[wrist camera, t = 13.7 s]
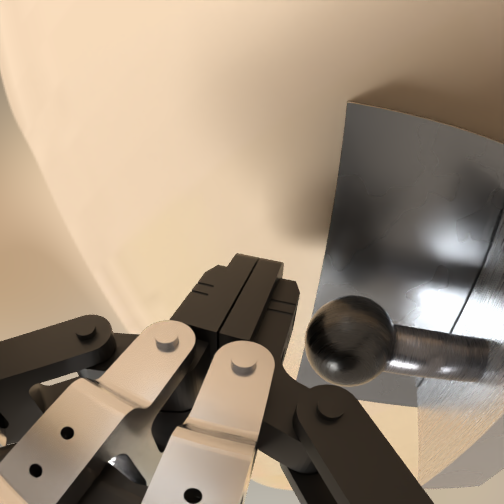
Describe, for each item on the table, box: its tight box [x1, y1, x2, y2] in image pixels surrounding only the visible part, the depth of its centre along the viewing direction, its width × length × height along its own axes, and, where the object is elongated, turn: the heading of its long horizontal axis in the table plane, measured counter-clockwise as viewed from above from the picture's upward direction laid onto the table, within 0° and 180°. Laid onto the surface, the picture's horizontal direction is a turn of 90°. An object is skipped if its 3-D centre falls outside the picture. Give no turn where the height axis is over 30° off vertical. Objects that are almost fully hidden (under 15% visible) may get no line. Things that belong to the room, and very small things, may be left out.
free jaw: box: [305, 209, 504, 489], centre depth 8 cm, size 9×9×5 cm
